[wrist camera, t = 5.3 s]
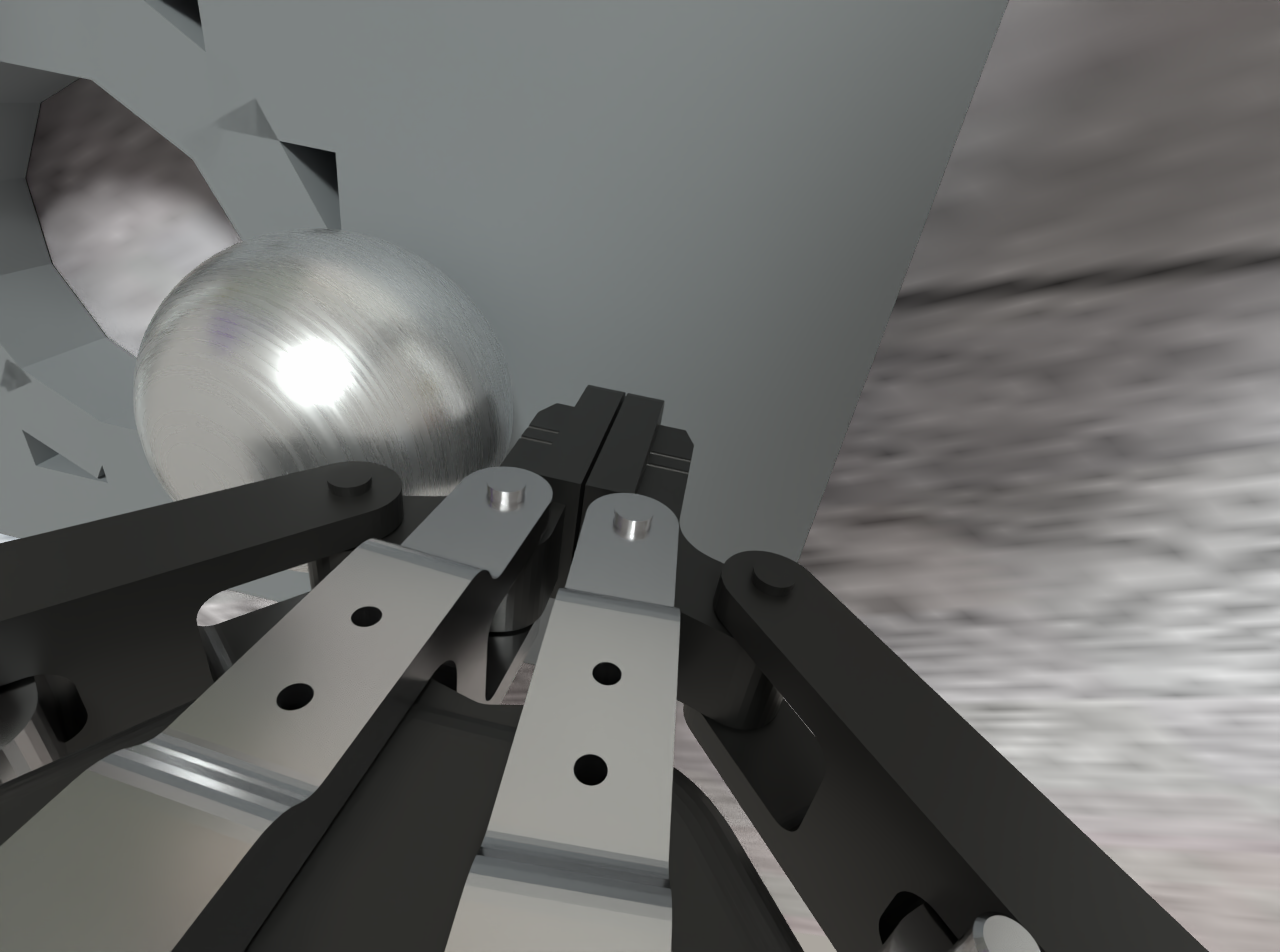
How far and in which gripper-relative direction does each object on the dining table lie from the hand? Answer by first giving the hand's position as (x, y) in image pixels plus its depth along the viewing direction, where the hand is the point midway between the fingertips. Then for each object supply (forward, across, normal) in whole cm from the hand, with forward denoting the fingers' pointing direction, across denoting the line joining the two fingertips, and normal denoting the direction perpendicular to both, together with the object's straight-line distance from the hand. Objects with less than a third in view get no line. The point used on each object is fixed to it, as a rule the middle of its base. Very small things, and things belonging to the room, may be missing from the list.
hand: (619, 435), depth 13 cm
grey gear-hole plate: (+4, +8, 0) cm, 9 cm away
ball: (-1, +5, 0) cm, 5 cm away
